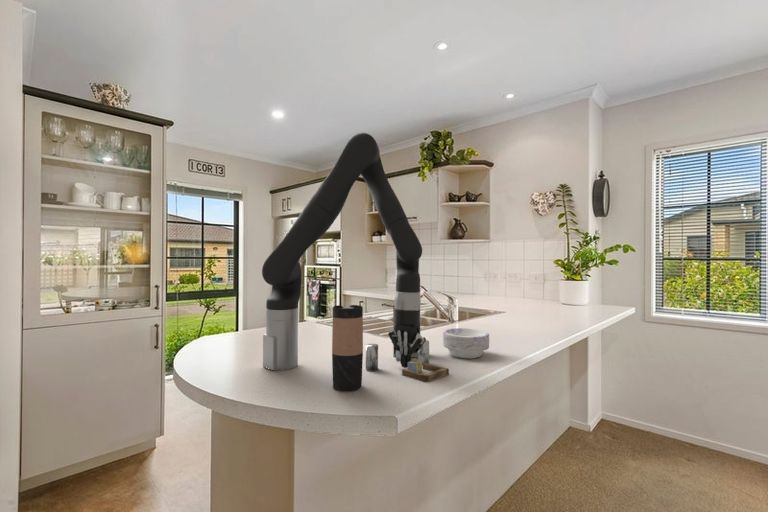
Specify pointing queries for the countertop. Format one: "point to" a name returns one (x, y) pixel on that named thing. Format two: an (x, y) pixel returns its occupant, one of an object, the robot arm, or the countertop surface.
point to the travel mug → (347, 347)
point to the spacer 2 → (398, 356)
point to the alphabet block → (415, 366)
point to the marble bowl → (465, 342)
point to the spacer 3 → (423, 353)
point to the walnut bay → (427, 377)
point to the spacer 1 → (371, 357)
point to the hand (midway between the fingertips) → (405, 367)
